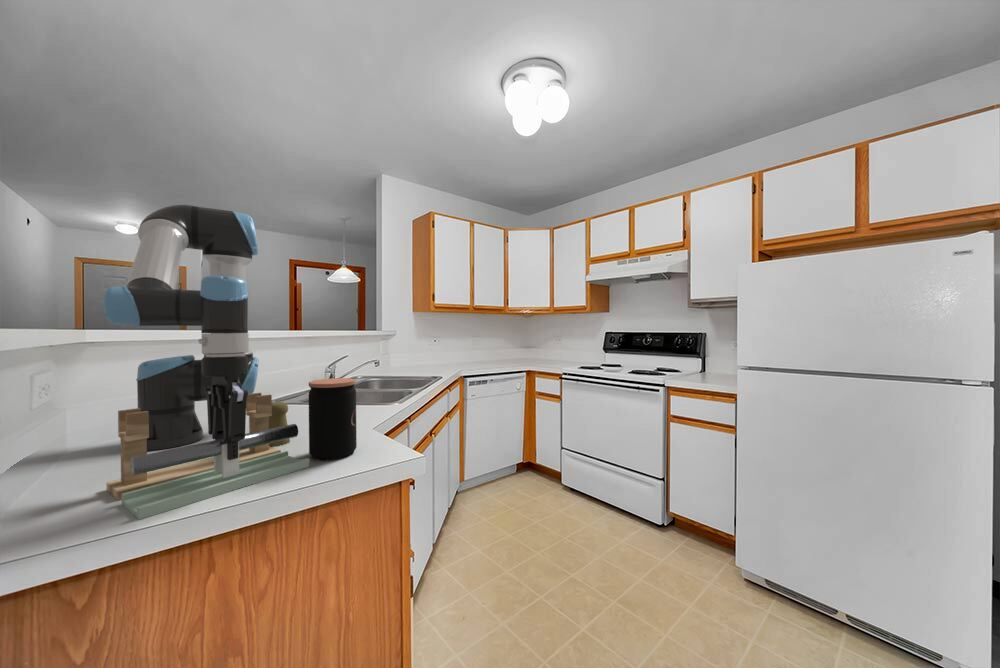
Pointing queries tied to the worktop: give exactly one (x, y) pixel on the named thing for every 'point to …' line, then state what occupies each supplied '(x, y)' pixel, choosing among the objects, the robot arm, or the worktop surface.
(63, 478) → the worktop surface
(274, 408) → the olive green shaker
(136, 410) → the rail rack
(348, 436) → the coffee jar
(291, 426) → the rail
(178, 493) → the tray
